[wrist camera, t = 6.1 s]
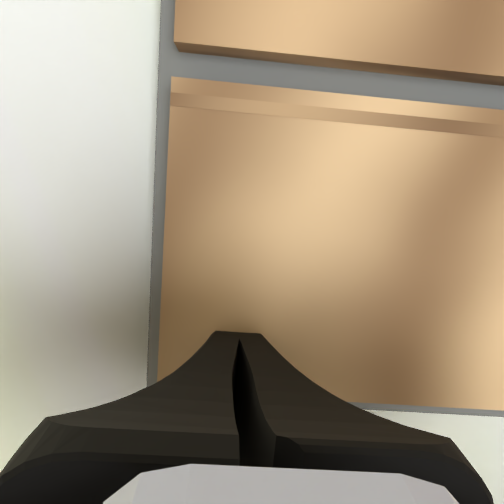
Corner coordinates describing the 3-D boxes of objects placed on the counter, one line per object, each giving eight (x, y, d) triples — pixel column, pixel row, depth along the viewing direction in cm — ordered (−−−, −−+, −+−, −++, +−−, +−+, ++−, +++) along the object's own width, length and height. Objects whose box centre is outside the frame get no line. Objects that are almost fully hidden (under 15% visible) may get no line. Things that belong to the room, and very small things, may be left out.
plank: (720, 139, 12) (767, 136, 11) (643, 401, 13) (678, 420, 12) (176, 84, 11) (171, 76, 10) (162, 372, 12) (156, 391, 11)
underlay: (729, 34, 12) (772, 24, 11) (613, 406, 15) (640, 424, 14) (169, -31, 11) (162, -49, 10) (152, 380, 14) (146, 397, 13)
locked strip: (755, 22, 11) (805, 9, 10) (727, 109, 12) (772, 105, 11) (183, -46, 10) (178, -67, 9) (178, 51, 11) (173, 41, 10)
